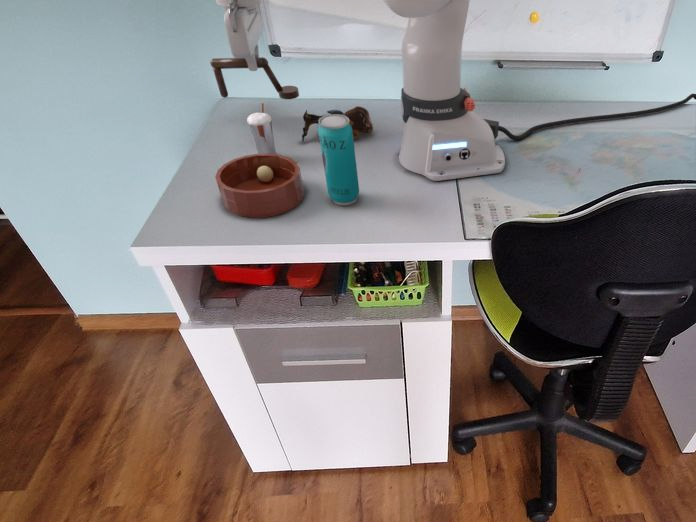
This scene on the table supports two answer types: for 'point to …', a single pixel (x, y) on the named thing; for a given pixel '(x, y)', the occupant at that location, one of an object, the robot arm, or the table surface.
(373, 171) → the table surface
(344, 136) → the beverage can
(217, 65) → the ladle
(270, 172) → the ball
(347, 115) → the figurine
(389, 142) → the table surface
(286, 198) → the bowl
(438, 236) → the table surface
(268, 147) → the milkshake
